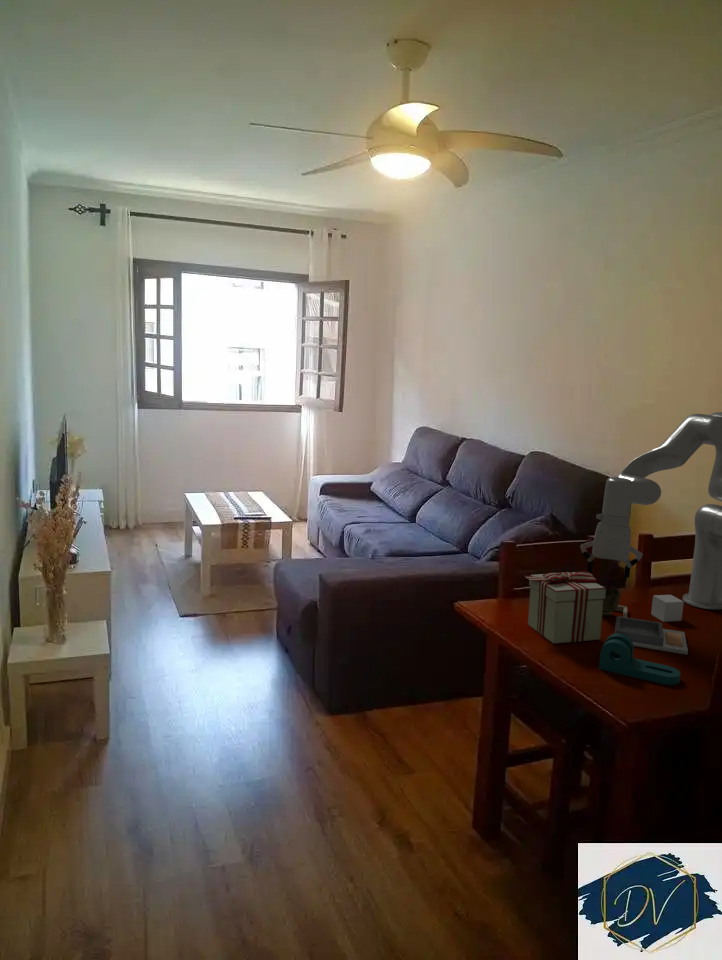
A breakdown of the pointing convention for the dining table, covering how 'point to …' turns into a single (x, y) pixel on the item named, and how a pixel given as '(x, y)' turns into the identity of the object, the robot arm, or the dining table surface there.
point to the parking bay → (622, 610)
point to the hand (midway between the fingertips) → (607, 576)
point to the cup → (610, 600)
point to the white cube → (667, 608)
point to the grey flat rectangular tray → (651, 635)
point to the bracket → (633, 662)
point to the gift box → (566, 606)
